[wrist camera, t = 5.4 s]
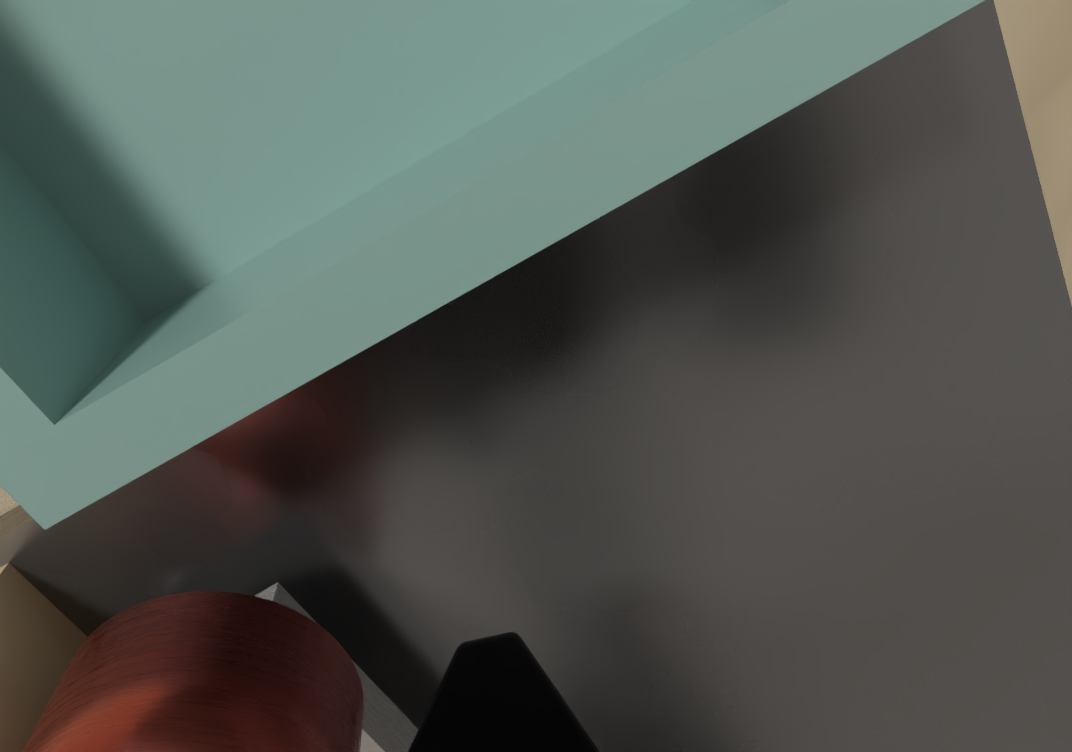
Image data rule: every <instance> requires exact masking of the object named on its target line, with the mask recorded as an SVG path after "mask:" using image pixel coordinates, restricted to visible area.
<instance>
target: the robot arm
mask: <svg viewBox="0 0 1072 752" xmlns="http://www.w3.org/2000/svg"><path fill="white" fill-rule="evenodd" d="M408 752H601V751H600V750H599V748H598V747H597V745H596V744H595V743H594V741H593V740H592V738H591V737H590V735H589V734H588V733H587V731H586V730H585V728H584V727H583V725H582V724H581V722H580V721H579V720H578V718H577V717H576V715H575V714H574V712H573V711H572V710H571V708H570V707H569V705H568V704H567V702H566V701H565V700H564V698H563V697H562V695H561V694H560V692H559V691H558V689H557V688H556V687H555V685H554V684H553V682H552V681H551V679H550V678H549V677H548V675H547V674H546V672H545V671H544V669H543V668H542V667H541V665H540V664H539V662H538V661H537V659H536V658H535V656H534V655H533V654H532V652H531V651H530V649H529V648H528V646H527V645H526V644H525V642H524V641H523V639H522V638H521V637H520V636H519V635H518V634H517V633H515V632H507V633H503V634H498V635H493V636H488V637H484V638H479V639H474V640H470V641H465V642H463V643H461V644H460V645H459V646H458V647H457V649H456V651H455V653H454V655H453V657H452V659H451V661H450V663H449V666H448V668H447V670H446V672H445V674H444V676H443V678H442V680H441V683H440V685H439V687H438V689H437V691H436V693H435V695H434V697H433V699H432V702H431V704H430V706H429V708H428V710H427V712H426V714H425V716H424V719H423V721H422V723H421V725H420V727H419V729H418V731H417V733H416V736H415V738H414V740H413V742H412V744H411V746H410V748H409V750H408Z"/></svg>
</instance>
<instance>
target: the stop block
mask: <svg viewBox="0 0 1072 752" xmlns="http://www.w3.org/2000/svg"><path fill="white" fill-rule="evenodd" d="M86 638H87V636H86V635H85V634H84V633H83V632H82V631H81V630H80V629H79V628H78V627H77V626H75V625H74V624H73V623H72V622H71V621H70V620H69V619H68V618H67V617H66V616H65V615H64V614H63V613H62V612H61V611H60V610H58V609H57V608H56V607H55V606H54V605H53V604H52V603H51V602H50V601H49V600H48V599H47V598H46V597H45V596H44V595H43V594H41V593H40V592H39V591H38V590H37V589H36V588H35V587H34V586H33V585H32V584H31V583H30V582H29V581H28V580H27V579H26V578H24V577H23V576H22V575H21V574H20V573H19V572H18V571H17V570H16V569H15V568H14V567H13V566H12V565H11V564H10V563H7V564H6V565H4V566H2V567H0V752H22V751H23V749H24V747H25V745H26V743H27V741H28V740H29V738H30V736H31V734H32V732H33V730H34V728H35V727H36V725H37V723H38V721H39V719H40V717H41V715H42V714H43V712H44V710H45V708H46V706H47V704H48V702H49V700H50V699H51V697H52V695H53V693H54V691H55V689H56V687H57V686H58V684H59V682H60V680H61V678H62V676H63V674H64V673H65V671H66V669H67V667H68V665H69V663H70V661H71V660H72V658H73V656H74V654H75V652H76V651H77V649H78V648H79V647H80V646H81V644H82V643H83V642H84V641H85V639H86Z"/></svg>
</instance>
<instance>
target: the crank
mask: <svg viewBox="0 0 1072 752" xmlns="http://www.w3.org/2000/svg"><path fill="white" fill-rule="evenodd" d="M417 731H418V729H417V727H416V726H415V725H414V724H413V723H412V722H411V721H410V720H409V719H408V718H407V717H406V716H405V715H404V714H403V713H402V712H401V711H400V710H399V709H398V708H397V706H396V705H395V704H394V703H393V702H392V701H391V700H390V699H389V698H388V697H387V696H386V695H385V694H384V693H383V692H382V691H381V690H380V689H379V688H378V687H377V686H376V684H375V683H374V682H373V681H372V680H371V679H370V678H369V677H368V676H367V675H366V674H365V673H364V672H363V671H362V670H361V669H360V668H359V667H358V666H357V665H356V663H355V662H354V661H353V660H352V659H351V658H350V657H349V655H348V654H347V652H346V651H345V650H344V648H343V647H342V646H341V645H340V644H339V642H338V641H337V640H336V639H335V638H334V637H333V636H332V635H331V634H330V633H328V632H327V631H326V630H325V629H324V628H323V627H321V626H320V625H318V624H317V623H316V622H315V620H314V619H313V618H312V617H311V616H310V615H309V614H308V613H307V612H306V611H305V610H304V609H303V608H302V607H301V606H300V605H299V604H298V603H297V602H296V601H295V599H294V598H293V597H292V596H291V595H290V594H289V593H288V592H287V591H286V590H285V589H284V588H283V587H282V586H281V585H280V584H279V583H278V582H277V583H275V584H274V585H272V586H270V587H269V588H267V589H265V590H263V591H262V592H260V593H258V594H257V595H255V596H251V595H246V594H240V593H234V592H220V591H198V592H186V593H178V594H171V595H167V596H163V597H159V598H155V599H151V600H148V601H145V602H143V603H140V604H137V605H135V606H132V607H130V608H128V609H126V610H124V611H122V612H120V613H118V614H116V615H115V616H113V617H112V618H110V619H109V620H107V621H106V622H104V623H103V624H102V625H100V626H99V627H98V628H97V629H96V630H95V631H94V632H92V633H91V634H90V635H89V636H88V637H87V638H86V639H85V641H84V642H83V643H82V644H81V646H80V647H79V648H78V649H77V651H76V652H75V654H74V656H73V658H72V660H71V661H70V663H69V665H68V667H67V669H66V671H65V673H64V674H63V676H62V678H61V680H60V682H59V684H58V686H57V687H56V689H55V691H54V693H53V695H52V697H51V699H50V700H49V702H48V704H47V706H46V708H45V710H44V712H43V714H42V715H41V717H40V719H39V721H38V723H37V725H36V727H35V728H34V730H33V732H32V734H31V736H30V738H29V740H28V741H27V743H26V745H25V747H24V749H23V751H22V752H408V750H409V748H410V746H411V744H412V742H413V740H414V738H415V736H416V733H417Z"/></svg>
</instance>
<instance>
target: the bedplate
mask: <svg viewBox="0 0 1072 752" xmlns="http://www.w3.org/2000/svg"><path fill="white" fill-rule="evenodd" d="M7 563H10V564H11V565H12V566H13V567H14V568H15V569H16V570H17V571H18V572H19V573H20V574H21V575H22V576H23V577H24V578H26V579H27V580H28V581H29V582H30V583H31V584H32V585H33V586H34V587H35V588H36V589H37V590H38V591H39V592H40V593H41V594H43V595H44V596H45V597H46V598H47V599H48V600H49V601H50V602H51V603H52V604H53V605H54V606H55V607H56V608H57V609H58V610H60V611H61V612H62V613H63V614H64V615H65V616H66V617H67V618H68V619H69V620H70V621H71V622H72V623H73V624H74V625H75V626H77V627H78V628H79V629H80V630H81V631H82V632H83V633H84V634H85V635H86V636H87V637H88V636H89V635H90V634H91V633H92V632H94V631H95V630H96V629H97V628H98V627H99V626H100V625H102V624H103V623H104V622H106V621H107V620H109V619H110V618H112V617H113V616H115V615H116V614H118V613H120V612H122V611H124V610H126V609H128V608H130V607H132V606H135V605H137V604H140V603H143V602H145V601H148V600H151V599H155V598H159V597H163V596H167V595H171V594H178V593H186V592H198V591H220V592H234V593H240V594H246V595H251V596H255V595H257V594H258V593H260V592H262V591H263V590H265V589H267V588H269V587H270V586H272V585H274V584H275V583H277V582H278V583H279V584H280V585H281V586H282V587H283V588H284V589H285V590H286V591H287V592H288V593H289V594H290V595H291V596H292V597H293V598H294V599H295V601H296V602H297V603H298V604H299V605H300V606H301V607H302V608H303V609H304V610H305V611H306V612H307V613H308V614H309V615H310V616H311V617H312V618H313V619H314V620H315V622H316V623H317V624H318V625H320V626H321V627H323V628H324V629H325V630H326V631H327V632H328V633H330V634H331V635H332V636H333V637H334V638H335V639H336V640H337V641H338V642H339V644H340V645H341V646H342V647H343V648H344V650H345V651H346V652H347V654H348V655H349V657H350V658H351V659H352V660H353V661H354V662H355V663H356V665H357V666H358V667H359V668H360V669H361V670H362V671H363V672H364V673H365V674H366V675H367V676H368V677H369V678H370V679H371V680H372V681H373V682H374V683H375V684H376V686H377V687H378V688H379V689H380V690H381V691H382V692H383V693H384V694H385V695H386V696H387V697H388V698H389V699H390V700H391V701H392V702H393V703H394V704H395V705H396V706H397V708H398V709H399V710H400V711H401V712H402V713H403V714H404V715H405V716H406V717H407V718H408V719H409V720H410V721H411V722H412V723H413V724H414V725H415V726H416V727H417V729H419V727H420V725H421V723H422V721H423V719H424V716H425V714H426V712H427V710H428V708H429V706H430V704H431V702H432V699H433V697H434V695H435V693H436V691H437V689H438V687H439V685H440V683H441V680H442V678H443V676H444V674H445V672H446V670H447V668H448V666H449V663H450V661H451V659H452V657H453V655H454V653H455V651H456V649H457V647H458V646H459V645H460V644H461V643H463V642H465V641H470V640H474V639H479V638H484V637H488V636H493V635H498V634H503V633H507V632H515V633H517V634H518V635H519V636H520V637H521V638H522V639H523V641H524V642H525V644H526V645H527V646H528V648H529V649H530V651H531V652H532V654H533V655H534V656H535V658H536V659H537V661H538V662H539V664H540V665H541V667H542V668H543V669H544V671H545V672H546V674H547V675H548V677H549V678H550V679H551V681H552V682H553V684H554V685H555V687H556V688H557V689H558V691H559V692H560V694H561V695H562V697H563V698H564V700H565V701H566V702H567V704H568V705H569V707H570V708H571V710H572V711H573V712H574V714H575V715H576V717H577V718H578V720H579V721H580V722H581V724H582V725H583V727H584V728H585V730H586V731H587V733H588V734H589V735H590V737H591V738H592V740H593V741H594V743H595V744H596V745H597V747H598V748H599V750H600V751H601V752H1072V306H1071V303H1070V299H1069V295H1068V291H1067V287H1066V283H1065V279H1064V275H1063V271H1062V267H1061V263H1060V260H1059V256H1058V252H1057V248H1056V244H1055V240H1054V236H1053V232H1052V228H1051V224H1050V220H1049V216H1048V213H1047V209H1046V205H1045V201H1044V197H1043V193H1042V189H1041V185H1040V181H1039V177H1038V173H1037V169H1036V166H1035V162H1034V158H1033V154H1032V150H1031V146H1030V142H1029V138H1028V134H1027V130H1026V126H1025V123H1024V119H1023V115H1022V111H1021V107H1020V103H1019V99H1018V95H1017V91H1016V87H1015V83H1014V79H1013V76H1012V72H1011V68H1010V64H1009V60H1008V56H1007V52H1006V48H1005V44H1004V40H1003V36H1002V32H1001V29H1000V25H999V21H998V17H997V13H996V9H995V5H994V1H993V0H985V1H983V2H981V3H979V4H978V5H976V6H974V7H972V8H970V9H969V10H967V11H965V12H963V13H962V14H960V15H958V16H956V17H954V18H953V19H951V20H949V21H947V22H946V23H944V24H942V25H940V26H938V27H937V28H935V29H933V30H931V31H930V32H928V33H926V34H924V35H923V36H921V37H919V38H917V39H915V40H914V41H912V42H910V43H908V44H907V45H905V46H903V47H901V48H899V49H898V50H896V51H894V52H892V53H891V54H889V55H887V56H885V57H883V58H882V59H880V60H878V61H876V62H875V63H873V64H871V65H869V66H867V67H866V68H864V69H862V70H860V71H859V72H857V73H855V74H853V75H852V76H850V77H848V78H846V79H844V80H843V81H841V82H839V83H837V84H836V85H834V86H832V87H830V88H828V89H827V90H825V91H823V92H821V93H820V94H818V95H816V96H814V97H812V98H811V99H809V100H807V101H805V102H804V103H802V104H800V105H798V106H796V107H795V108H793V109H791V110H789V111H788V112H786V113H784V114H782V115H781V116H779V117H777V118H775V119H773V120H772V121H770V122H768V123H766V124H765V125H763V126H761V127H759V128H757V129H756V130H754V131H752V132H750V133H749V134H747V135H745V136H743V137H741V138H740V139H738V140H736V141H734V142H733V143H731V144H729V145H727V146H725V147H724V148H722V149H720V150H718V151H717V152H715V153H713V154H711V155H710V156H708V157H706V158H704V159H702V160H701V161H699V162H697V163H695V164H694V165H692V166H690V167H688V168H686V169H685V170H683V171H681V172H679V173H678V174H676V175H674V176H672V177H670V178H669V179H667V180H665V181H663V182H662V183H660V184H658V185H656V186H654V187H653V188H651V189H649V190H647V191H646V192H644V193H642V194H640V195H639V196H637V197H635V198H633V199H631V200H630V201H628V202H626V203H624V204H623V205H621V206H619V207H617V208H615V209H614V210H612V211H610V212H608V213H607V214H605V215H603V216H601V217H599V218H598V219H596V220H594V221H592V222H591V223H589V224H587V225H585V226H583V227H582V228H580V229H578V230H576V231H575V232H573V233H571V234H569V235H568V236H566V237H564V238H562V239H560V240H559V241H557V242H555V243H553V244H552V245H550V246H548V247H546V248H544V249H543V250H541V251H539V252H537V253H536V254H534V255H532V256H530V257H528V258H527V259H525V260H523V261H521V262H520V263H518V264H516V265H514V266H512V267H511V268H509V269H507V270H505V271H504V272H502V273H500V274H498V275H497V276H495V277H493V278H491V279H489V280H488V281H486V282H484V283H482V284H481V285H479V286H477V287H475V288H473V289H472V290H470V291H468V292H466V293H465V294H463V295H461V296H459V297H457V298H456V299H454V300H452V301H450V302H449V303H447V304H445V305H443V306H442V307H440V308H438V309H436V310H434V311H433V312H431V313H429V314H427V315H426V316H424V317H422V318H420V319H418V320H417V321H415V322H413V323H411V324H410V325H408V326H406V327H404V328H402V329H401V330H399V331H397V332H395V333H394V334H392V335H390V336H388V337H386V338H385V339H383V340H381V341H379V342H378V343H376V344H374V345H372V346H371V347H369V348H367V349H365V350H363V351H362V352H360V353H358V354H356V355H355V356H353V357H351V358H349V359H347V360H346V361H344V362H342V363H340V364H339V365H337V366H335V367H333V368H331V369H330V370H328V371H326V372H324V373H323V374H321V375H319V376H317V377H315V378H314V379H312V380H310V381H308V382H307V383H305V384H303V385H301V386H300V387H298V388H296V389H294V390H292V391H291V392H289V393H287V394H285V395H284V396H282V397H280V398H278V399H276V400H275V401H273V402H271V403H269V404H268V405H266V406H264V407H262V408H260V409H259V410H257V411H255V412H253V413H252V414H250V415H248V416H246V417H244V418H243V419H241V420H239V421H237V422H236V423H234V424H232V425H230V426H229V427H227V428H225V429H223V430H221V431H220V432H218V433H216V434H214V435H213V436H211V437H209V438H207V439H205V440H204V441H202V442H200V443H198V444H197V445H195V446H193V447H191V448H189V449H188V450H186V451H184V452H182V453H181V454H179V455H177V456H175V457H173V458H172V459H170V460H168V461H166V462H165V463H163V464H161V465H159V466H158V467H156V468H154V469H152V470H150V471H149V472H147V473H145V474H143V475H142V476H140V477H138V478H136V479H134V480H133V481H131V482H129V483H127V484H126V485H124V486H122V487H120V488H118V489H117V490H115V491H113V492H111V493H110V494H108V495H106V496H104V497H102V498H101V499H99V500H97V501H95V502H94V503H92V504H90V505H88V506H87V507H85V508H83V509H81V510H79V511H78V512H76V513H74V514H72V515H71V516H69V517H67V518H65V519H63V520H62V521H60V522H58V523H56V524H55V525H53V526H51V527H49V528H47V529H46V530H45V529H44V528H43V527H41V526H40V525H39V524H38V523H37V522H36V521H35V520H34V519H33V518H32V517H31V516H30V515H29V514H28V513H27V512H26V511H25V510H24V509H23V508H22V507H21V506H18V507H16V508H14V509H12V510H11V511H9V512H7V513H5V514H4V515H2V516H0V567H2V566H4V565H6V564H7Z"/></svg>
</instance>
